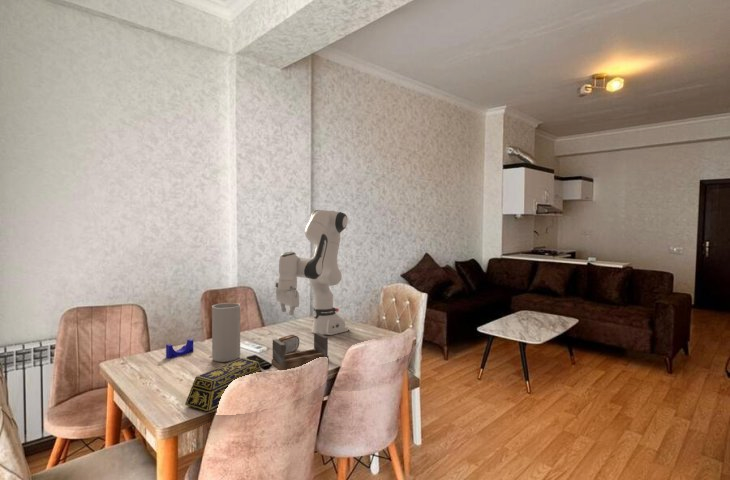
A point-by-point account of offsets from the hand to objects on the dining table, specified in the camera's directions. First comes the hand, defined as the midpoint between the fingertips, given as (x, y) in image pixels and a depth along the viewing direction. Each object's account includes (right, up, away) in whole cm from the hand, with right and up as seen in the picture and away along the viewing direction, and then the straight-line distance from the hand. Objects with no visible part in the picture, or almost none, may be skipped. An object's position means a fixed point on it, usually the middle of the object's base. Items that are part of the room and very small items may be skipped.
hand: (287, 313), depth 191 cm
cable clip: (-52, -20, -2) cm, 56 cm away
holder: (+8, -20, -12) cm, 25 cm away
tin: (0, -20, +1) cm, 20 cm away
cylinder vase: (-27, -20, -7) cm, 35 cm away
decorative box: (-13, -22, -44) cm, 51 cm away
